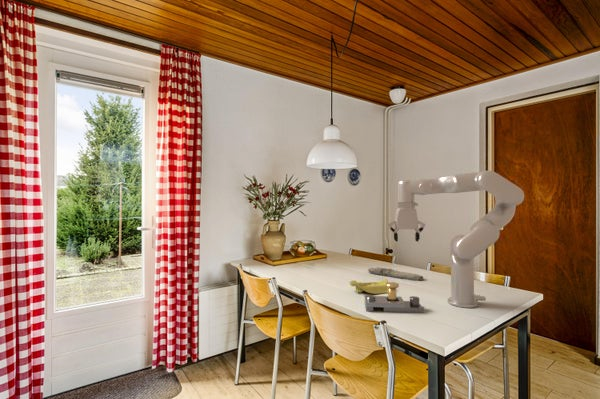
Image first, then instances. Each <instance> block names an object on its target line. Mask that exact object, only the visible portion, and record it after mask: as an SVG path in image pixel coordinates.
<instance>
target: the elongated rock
mask: <svg viewBox="0 0 600 399" xmlns="http://www.w3.org/2000/svg"><path fill="white" fill-rule="evenodd" d="M367 272H368V273H369V274H373V275H376V276H380V275H381V277H388V278H394V277H395V278H397V279H404V280H408V281H418V282H419V281H420V282H422V281H423V280H424V275H420V274H417V273H412V272H404V271H399V270H395V269H392V268H390V267H389V268H385V267H379V266H378V267H369V268H368V269H367Z"/></svg>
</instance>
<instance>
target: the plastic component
mask: <svg viewBox="0 0 600 399" xmlns="http://www.w3.org/2000/svg"><path fill="white" fill-rule="evenodd" d="M388 282H389V281H388V279H382V280H380V281H375V282H374V281H373V282H371V281H370V282H361V281H360V282H357V281H356V280H355V279H354V280H351V281H349V285H350V286H351V287H355V292H356V293H358V294H359V293H364V292H366V293H369V294H373V295H375V294H376V295H377V294H388V287H386V283H388Z"/></svg>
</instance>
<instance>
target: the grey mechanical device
mask: <svg viewBox="0 0 600 399" xmlns="http://www.w3.org/2000/svg"><path fill="white" fill-rule="evenodd" d="M364 308H365V311H366V312H372V313H373V312H374V310H376V308H382V311H383V313H384V312H385V313H410V312H412V313H413V314H414V313H415V314H416V313H418V314H423V313H424V308H423V306H422V304H421V303H420V297H419V296H413V295H412V296H409V300H404V299H403V297H402V296H396V301H388V295H383V296H382V295H381V296H380V295H364Z"/></svg>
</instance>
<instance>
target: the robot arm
mask: <svg viewBox="0 0 600 399" xmlns="http://www.w3.org/2000/svg"><path fill="white" fill-rule="evenodd" d="M478 191H486V192H487V193H489V194H490V195H492V196H493V197H494V201H495V204H494V207H493V208H492V209H491V210H489V211H488V213H486V214H485V215H483V217H481V218H480V219H478V220H477V221H475V222H474V223H473V224H472V225H471V226H470V228H469V229H470V230H469V232H468V233H467V234H466V235H464V234H459V235H458V234H457V235H455V236H454V237H453V238H452V239H451V240H450V243H449V253H450V294H451V295H450V297H448V298H447V302H448V304H450V305H452V306H454V307H459V308H465V309H466V308H467V309H468V308H469V309H471V308H476V307H478V306H479V301H484V302H485V301H486V299H487V298H486V296H485V295H483V296H482V295H480V294H477V295H476V294H475V262H474V258H476V257H477V256H479V255H480V254H482V253H483V252H485V251H486V250H487V249H489V248H490V247H491V246H492V245H494V244H495V243H496V242H497V241H498V240H499V238H500V231H501V230H502V229H503V228H504V227H505V226H507V225H508V224H509V223H510V222H511V221H512V219H513V217H514V216H515V214H516V209H517V208H516V207H517V206H519V205H521V204H522V203H523V201H524V199H525V194H524V193H525V192H524V191H523V190H522V189H521V187H520V186H517V185H516V184H514V183H513V182H511V181H509V180H508V179H507V178H506V177H503V176H502V175H500V174H499V173H497V172H495V171H493V170H484V171H477V172H468V173H460V174H459V173H458V174H451V175H448V176H442V177H437V178H436V177H435V178H429V179H427V178H426V179H425V178H423V179H422V178H420V179H414V180H413V179H412V180H411V179H403V180H399V181H398V182H397V208H396V209H395V210H396V211H395V216H394V218H395V219H394V220H393V221H390V222H388V224H387V226H388V228H389V229H390V231H391V232H392V233H393V240H394V241H395V243H396V242H398V241H399V237H398V236H399V233H398V231H399V230H414V231H415V233H414V235H415V237H414V238H415V239H414V240H415V242H419V240H420V234H421V233H422V232H423V230H424V229H425V227H426V223H423V222H422V221H420V220H418V212H417V208H416V207H418V206H419V203H417V202H416V201H415V195H420V196H426V195H436V194H459V193H467V192H478ZM393 225H394V228H393ZM419 225H420V227H419ZM418 227H419V228H418Z"/></svg>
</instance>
